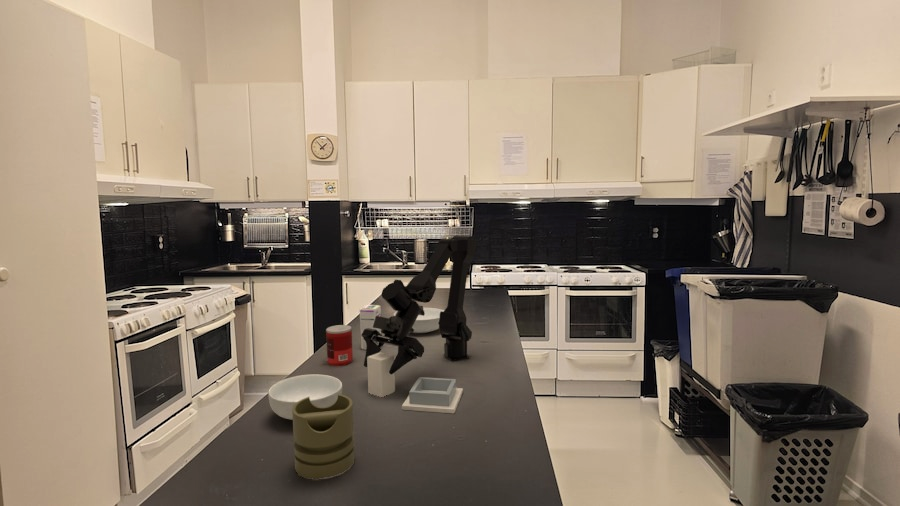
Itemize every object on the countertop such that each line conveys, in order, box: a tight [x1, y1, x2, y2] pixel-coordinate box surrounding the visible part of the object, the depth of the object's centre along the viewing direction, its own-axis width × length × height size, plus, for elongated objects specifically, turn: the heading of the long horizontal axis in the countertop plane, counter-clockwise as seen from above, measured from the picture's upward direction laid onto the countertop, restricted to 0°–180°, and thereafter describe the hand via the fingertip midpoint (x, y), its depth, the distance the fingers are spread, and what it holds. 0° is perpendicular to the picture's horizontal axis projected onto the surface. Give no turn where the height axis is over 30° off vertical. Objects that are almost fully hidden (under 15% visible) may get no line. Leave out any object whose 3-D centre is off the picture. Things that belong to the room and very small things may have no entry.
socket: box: [401, 376, 464, 414], centre depth 125 cm, size 13×13×4 cm
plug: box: [366, 351, 396, 398], centre depth 130 cm, size 5×5×10 cm
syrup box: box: [359, 304, 383, 351], centre depth 168 cm, size 6×6×14 cm
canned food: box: [325, 324, 354, 367], centre depth 154 cm, size 8×8×11 cm
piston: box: [292, 394, 355, 479], centre depth 95 cm, size 11×12×11 cm
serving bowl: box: [393, 307, 445, 334], centre depth 190 cm, size 21×21×7 cm
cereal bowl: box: [267, 373, 343, 421], centre depth 117 cm, size 17×17×7 cm
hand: (377, 370), depth 128 cm, fingers open, 9 cm apart
